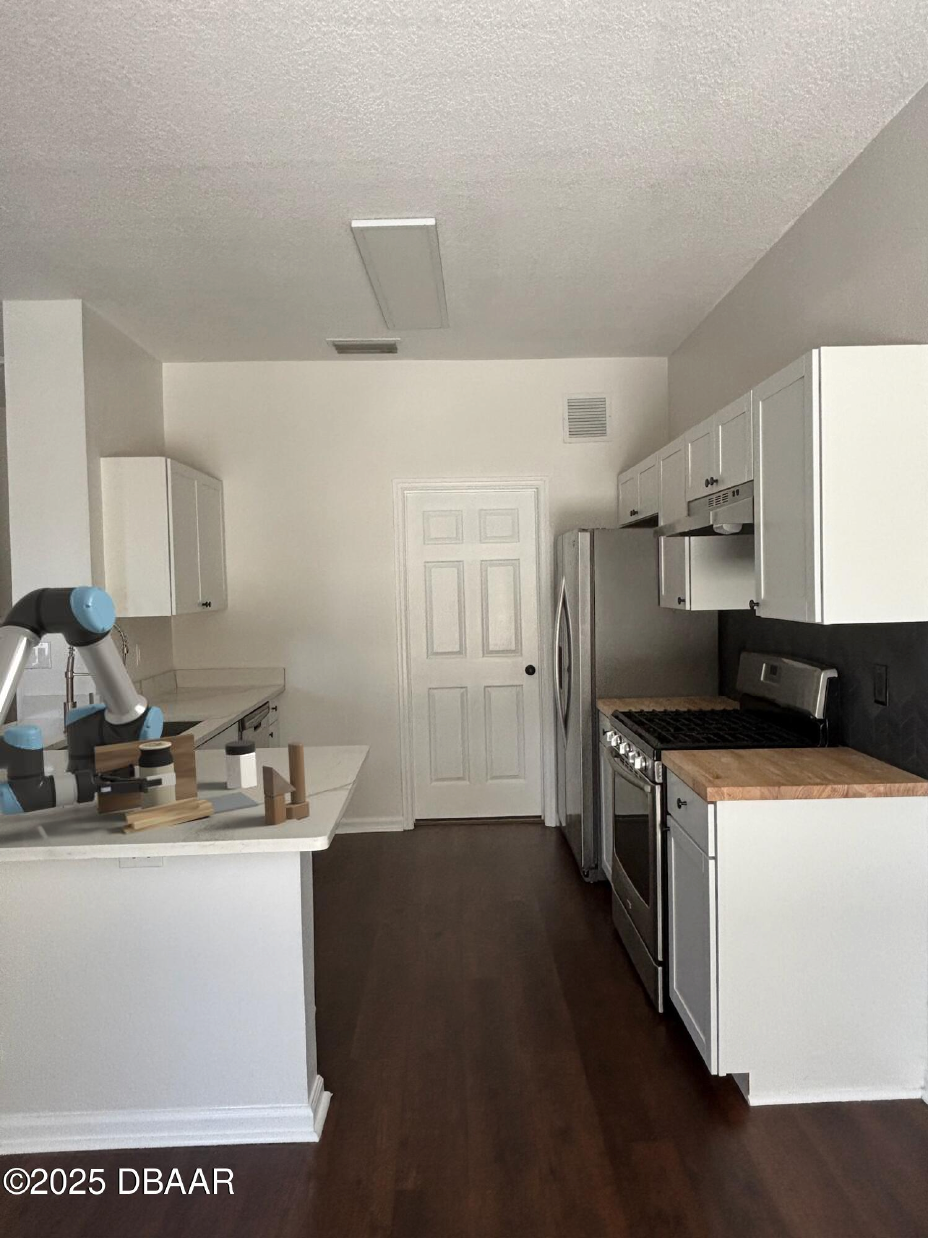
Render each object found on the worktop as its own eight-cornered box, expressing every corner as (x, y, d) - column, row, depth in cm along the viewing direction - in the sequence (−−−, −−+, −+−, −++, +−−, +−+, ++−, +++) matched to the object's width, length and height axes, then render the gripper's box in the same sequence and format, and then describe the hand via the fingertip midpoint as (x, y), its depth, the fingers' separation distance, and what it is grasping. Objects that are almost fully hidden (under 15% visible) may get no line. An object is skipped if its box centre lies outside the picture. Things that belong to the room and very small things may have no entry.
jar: (220, 788, 229) (217, 745, 228) (236, 781, 237) (234, 739, 236) (248, 790, 226) (246, 746, 226) (264, 782, 234) (262, 740, 233)
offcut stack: (121, 831, 194) (119, 815, 193) (207, 809, 205) (205, 793, 204) (127, 837, 189) (124, 820, 189) (214, 814, 200) (212, 798, 199)
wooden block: (264, 825, 194) (261, 749, 193) (300, 814, 202) (296, 740, 201) (275, 828, 192) (271, 751, 191) (310, 816, 200) (306, 742, 199)
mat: (187, 806, 213) (186, 801, 213) (240, 796, 220) (240, 792, 220) (202, 819, 201) (202, 814, 201) (258, 808, 209) (258, 803, 209)
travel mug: (156, 823, 199) (151, 749, 198) (135, 819, 203) (130, 746, 202) (183, 814, 206) (179, 742, 204) (162, 810, 210) (158, 740, 209)
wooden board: (97, 813, 209) (92, 746, 208) (194, 796, 222) (190, 732, 221) (99, 816, 206) (95, 748, 205) (197, 799, 219) (193, 734, 218)
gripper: (68, 792, 204) (157, 778, 216) (83, 816, 183) (182, 799, 195) (66, 762, 204) (156, 749, 215) (81, 782, 183) (180, 767, 194)
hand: (168, 773), depth 205 cm, fingers open, 13 cm apart
